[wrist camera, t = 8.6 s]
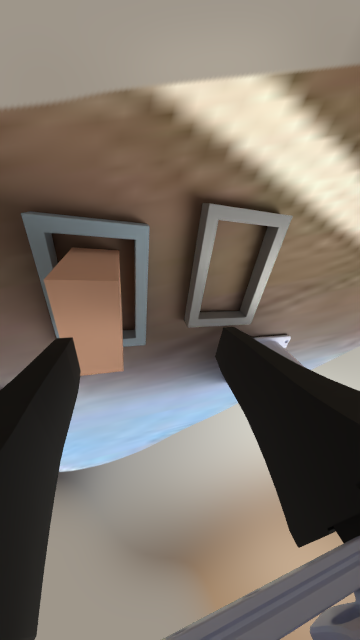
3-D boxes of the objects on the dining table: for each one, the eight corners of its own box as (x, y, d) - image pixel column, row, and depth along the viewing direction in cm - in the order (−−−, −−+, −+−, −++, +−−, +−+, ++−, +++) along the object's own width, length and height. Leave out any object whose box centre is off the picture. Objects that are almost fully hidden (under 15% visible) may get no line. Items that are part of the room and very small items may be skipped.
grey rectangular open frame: (243, 317, 24) (250, 324, 23) (184, 320, 21) (187, 327, 20) (280, 214, 18) (292, 216, 16) (202, 202, 15) (209, 203, 14)
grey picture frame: (144, 336, 21) (145, 344, 20) (64, 341, 19) (60, 351, 18) (146, 223, 15) (149, 226, 14) (30, 211, 13) (20, 213, 12)
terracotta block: (122, 320, 19) (123, 370, 14) (85, 321, 18) (70, 376, 13) (118, 250, 16) (118, 281, 10) (72, 247, 15) (43, 279, 9)
